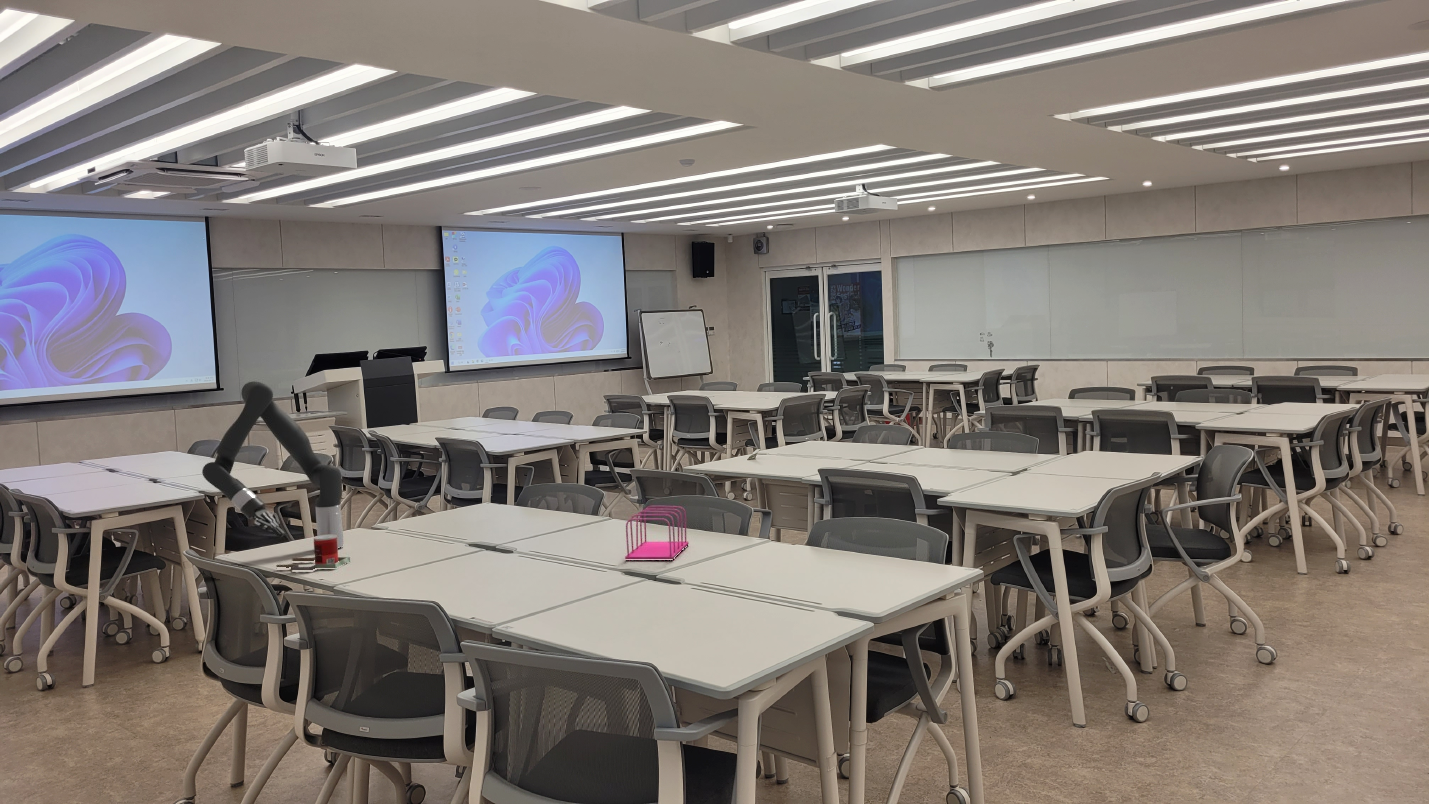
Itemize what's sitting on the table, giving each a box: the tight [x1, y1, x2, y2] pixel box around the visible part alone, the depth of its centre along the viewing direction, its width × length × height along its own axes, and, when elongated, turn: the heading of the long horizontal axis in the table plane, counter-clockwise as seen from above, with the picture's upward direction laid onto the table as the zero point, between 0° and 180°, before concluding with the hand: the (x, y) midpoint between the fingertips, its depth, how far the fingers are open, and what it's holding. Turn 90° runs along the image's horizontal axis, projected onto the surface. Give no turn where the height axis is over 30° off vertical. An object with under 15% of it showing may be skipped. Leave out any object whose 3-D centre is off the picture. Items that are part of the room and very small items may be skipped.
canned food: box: [313, 534, 339, 565], centre depth 351 cm, size 8×8×11 cm
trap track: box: [276, 556, 351, 571], centre depth 352 cm, size 19×22×2 cm
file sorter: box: [624, 505, 690, 559], centre depth 351 cm, size 17×25×16 cm
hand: (282, 535), depth 353 cm, fingers closed
